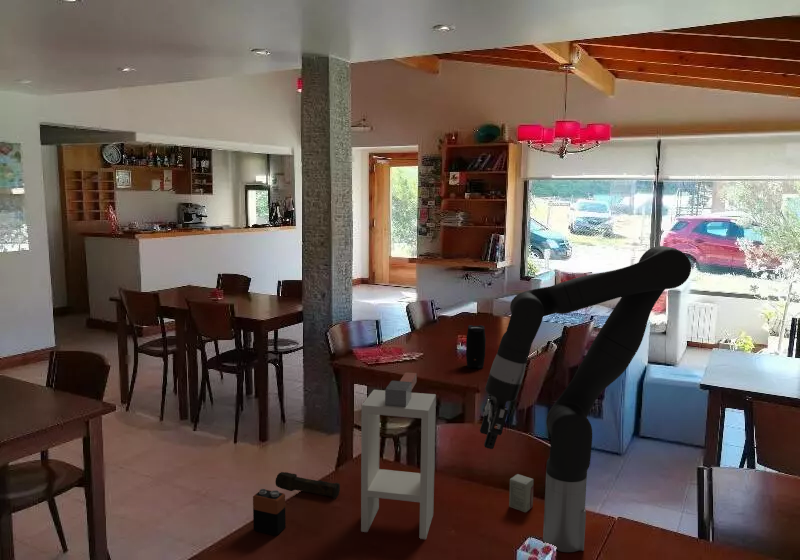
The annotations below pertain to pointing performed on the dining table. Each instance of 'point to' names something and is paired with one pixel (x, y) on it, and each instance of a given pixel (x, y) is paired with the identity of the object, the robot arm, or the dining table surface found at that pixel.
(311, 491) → the dark green flashlight
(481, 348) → the portable speaker
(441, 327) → the dining table surface
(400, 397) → the hammer
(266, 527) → the battery
